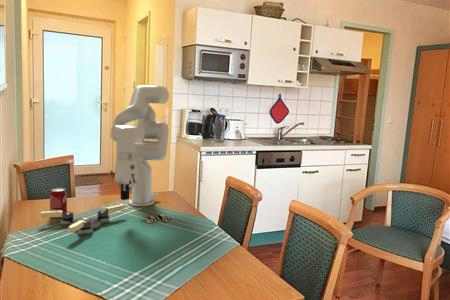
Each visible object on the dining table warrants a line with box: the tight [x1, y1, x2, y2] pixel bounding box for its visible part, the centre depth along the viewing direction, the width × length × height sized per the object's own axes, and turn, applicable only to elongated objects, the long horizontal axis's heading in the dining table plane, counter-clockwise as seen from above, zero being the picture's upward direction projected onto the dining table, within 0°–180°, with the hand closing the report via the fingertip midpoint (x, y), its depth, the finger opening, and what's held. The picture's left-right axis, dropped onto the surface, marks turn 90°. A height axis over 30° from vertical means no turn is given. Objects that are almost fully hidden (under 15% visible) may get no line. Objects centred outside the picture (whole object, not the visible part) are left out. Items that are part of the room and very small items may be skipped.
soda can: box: [49, 187, 68, 219], centre depth 166 cm, size 7×7×12 cm
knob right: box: [38, 210, 74, 221], centre depth 155 cm, size 13×4×4 cm, turn 109°
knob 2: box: [97, 204, 125, 219], centre depth 165 cm, size 13×4×4 cm, turn 139°
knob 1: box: [67, 220, 91, 234], centre depth 144 cm, size 13×4×4 cm, turn 169°
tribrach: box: [60, 215, 110, 236], centre depth 157 cm, size 17×19×3 cm
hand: (124, 199), depth 161 cm, fingers closed
